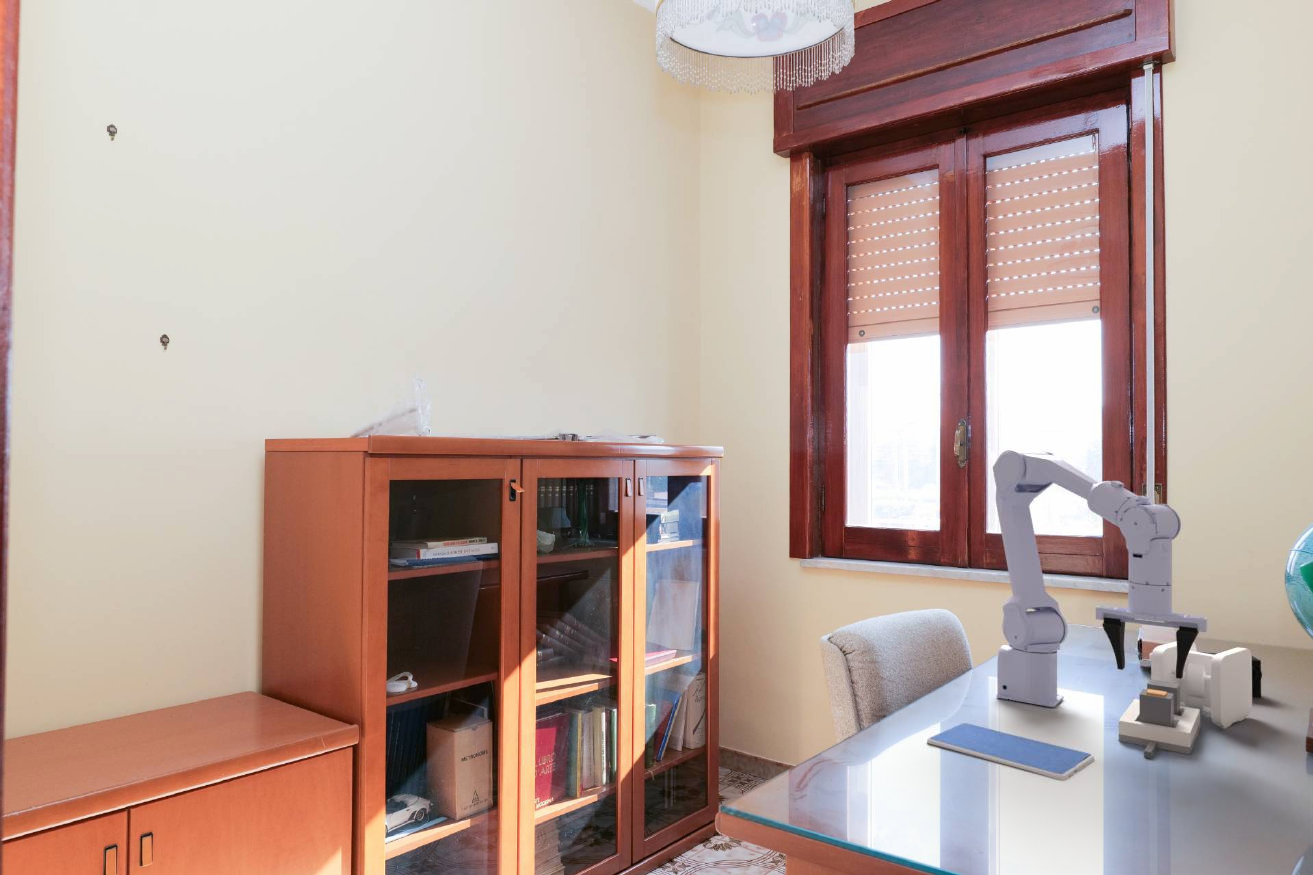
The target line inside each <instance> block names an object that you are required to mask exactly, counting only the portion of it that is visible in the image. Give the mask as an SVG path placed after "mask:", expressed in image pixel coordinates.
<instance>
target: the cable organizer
mask: <svg viewBox="0 0 1313 875" xmlns="http://www.w3.org/2000/svg"><path fill="white" fill-rule="evenodd" d="M1200 652H1201V651H1198V647H1197V645H1196V643H1195V641H1194V642H1193V644H1192V646H1191V649H1190V651H1189V653H1188V656H1187V659H1186V662H1185V666H1184V670H1183V677H1182V679H1180V678H1176V663H1177V640H1176V641H1173V642H1168V643H1165V644H1160V645H1158V646H1155V647H1154V648H1153V650H1152V652H1150V653H1149V654H1148V657H1149V658H1148V659H1149V662H1151V664H1150V665H1151V669H1150V672H1151V679H1153V680H1160V681H1167V682H1173V683H1180V706H1183V707H1189V708H1195V709H1200V710H1202V711H1203V713H1202V715H1203V716H1204V715H1205V716H1204V717H1206V713H1207V714H1210V718H1211V722H1212V723H1213V724H1214V725H1217V726H1219V728H1221V729H1227V728H1228V727H1230V726H1231V725H1232V724H1234V723H1236V722H1237V723H1238V722H1241V721H1243V720H1246V717H1248V716H1250V714H1251V712H1252V707H1253V698H1252V656H1253V655H1252V652H1251V651H1250V649H1249V648H1246V647H1235V648H1231V649H1228V650H1225V651H1222V652H1218V654H1215V655H1212V654H1206V653H1207V652H1206V653H1200Z"/></svg>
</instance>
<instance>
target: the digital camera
mask: <svg viewBox="0 0 1313 875" xmlns="http://www.w3.org/2000/svg"><path fill="white" fill-rule="evenodd" d="M1199 652H1200V653H1206V654H1212V655H1215V654H1218V653H1219V652H1218V653H1217V652H1206V651H1205V652H1204V651H1203V652H1202V651H1199ZM1251 656H1252V699H1262V677H1263V671H1262V661H1261V659H1259V658H1257V657H1256V656H1253V655H1251Z"/></svg>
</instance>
